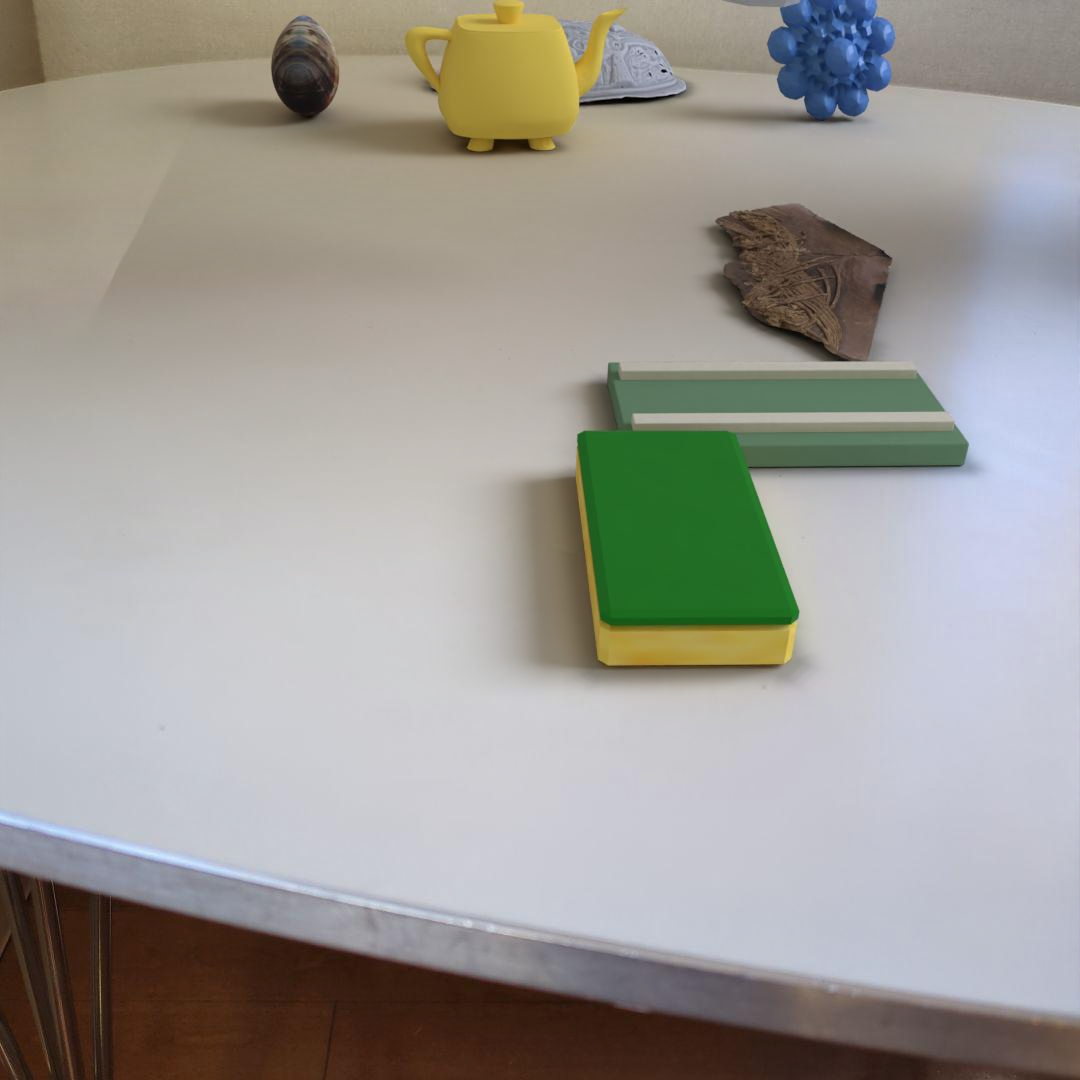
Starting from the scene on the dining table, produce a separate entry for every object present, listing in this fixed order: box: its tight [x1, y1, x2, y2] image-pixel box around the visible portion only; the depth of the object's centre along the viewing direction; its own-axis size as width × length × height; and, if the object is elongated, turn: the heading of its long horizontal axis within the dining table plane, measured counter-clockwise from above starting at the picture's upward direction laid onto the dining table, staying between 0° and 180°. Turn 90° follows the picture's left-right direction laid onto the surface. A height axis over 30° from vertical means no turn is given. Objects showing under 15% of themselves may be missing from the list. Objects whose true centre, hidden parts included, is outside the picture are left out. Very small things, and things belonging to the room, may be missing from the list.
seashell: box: [270, 14, 340, 117], centre depth 104 cm, size 10×6×8 cm, turn 2°
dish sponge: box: [575, 430, 800, 666], centre depth 49 cm, size 7×14×2 cm, turn 2°
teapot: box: [404, 0, 628, 152], centre depth 99 cm, size 18×11×11 cm, turn 98°
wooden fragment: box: [714, 202, 893, 362], centre depth 76 cm, size 26×11×1 cm, turn 176°
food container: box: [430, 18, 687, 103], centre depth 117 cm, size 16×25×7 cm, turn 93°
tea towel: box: [606, 360, 970, 468], centre depth 59 cm, size 16×9×2 cm, turn 93°
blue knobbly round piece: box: [766, 0, 896, 121], centre depth 105 cm, size 12×7×12 cm, turn 96°
